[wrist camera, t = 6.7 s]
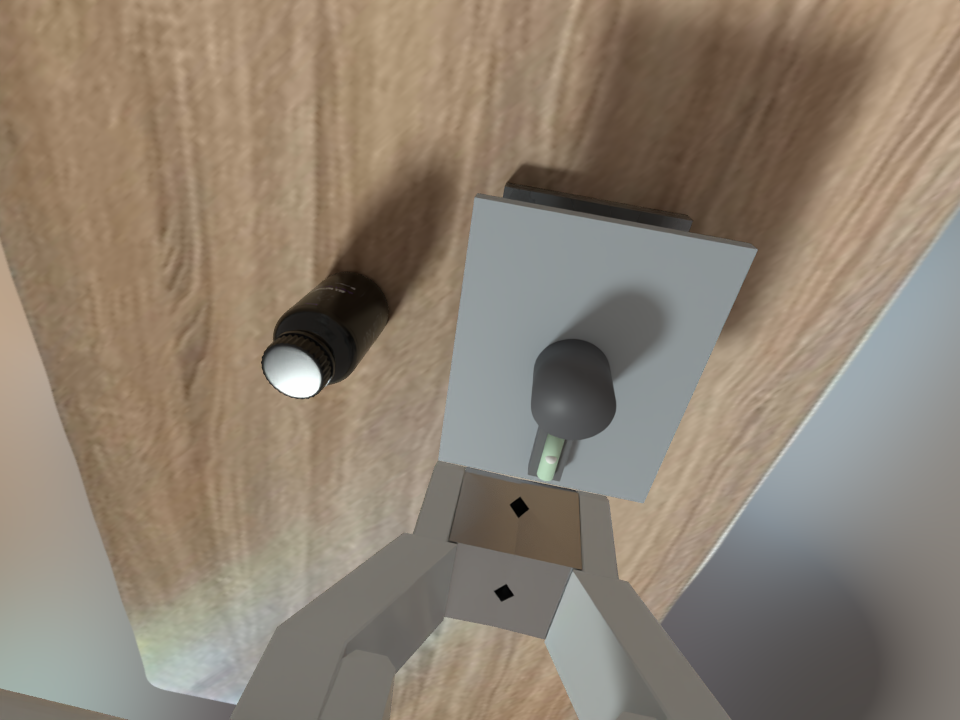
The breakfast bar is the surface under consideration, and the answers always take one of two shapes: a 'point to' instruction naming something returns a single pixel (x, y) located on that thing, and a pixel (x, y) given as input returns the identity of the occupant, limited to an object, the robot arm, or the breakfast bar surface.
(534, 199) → the stand
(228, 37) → the breakfast bar surface
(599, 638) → the robot arm
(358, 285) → the supplement bottle
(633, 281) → the plate
